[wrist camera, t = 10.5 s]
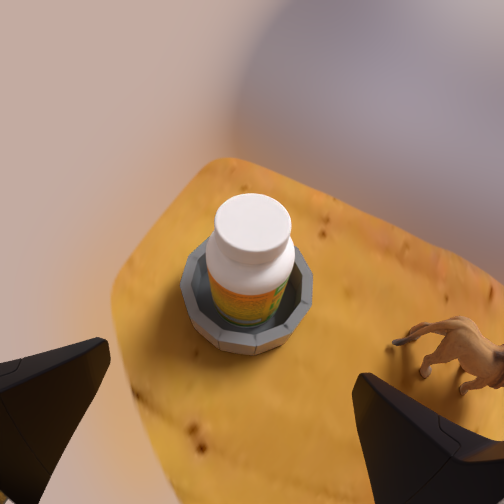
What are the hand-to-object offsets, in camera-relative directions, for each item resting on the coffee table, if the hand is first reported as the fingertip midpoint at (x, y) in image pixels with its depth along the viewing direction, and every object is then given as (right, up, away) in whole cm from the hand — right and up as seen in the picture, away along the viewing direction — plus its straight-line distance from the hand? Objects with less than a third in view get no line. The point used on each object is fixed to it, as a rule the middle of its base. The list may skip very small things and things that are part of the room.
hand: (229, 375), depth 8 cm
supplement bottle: (0, 0, +14) cm, 14 cm away
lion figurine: (+20, -7, +11) cm, 24 cm away
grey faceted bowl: (0, 0, +14) cm, 14 cm away
